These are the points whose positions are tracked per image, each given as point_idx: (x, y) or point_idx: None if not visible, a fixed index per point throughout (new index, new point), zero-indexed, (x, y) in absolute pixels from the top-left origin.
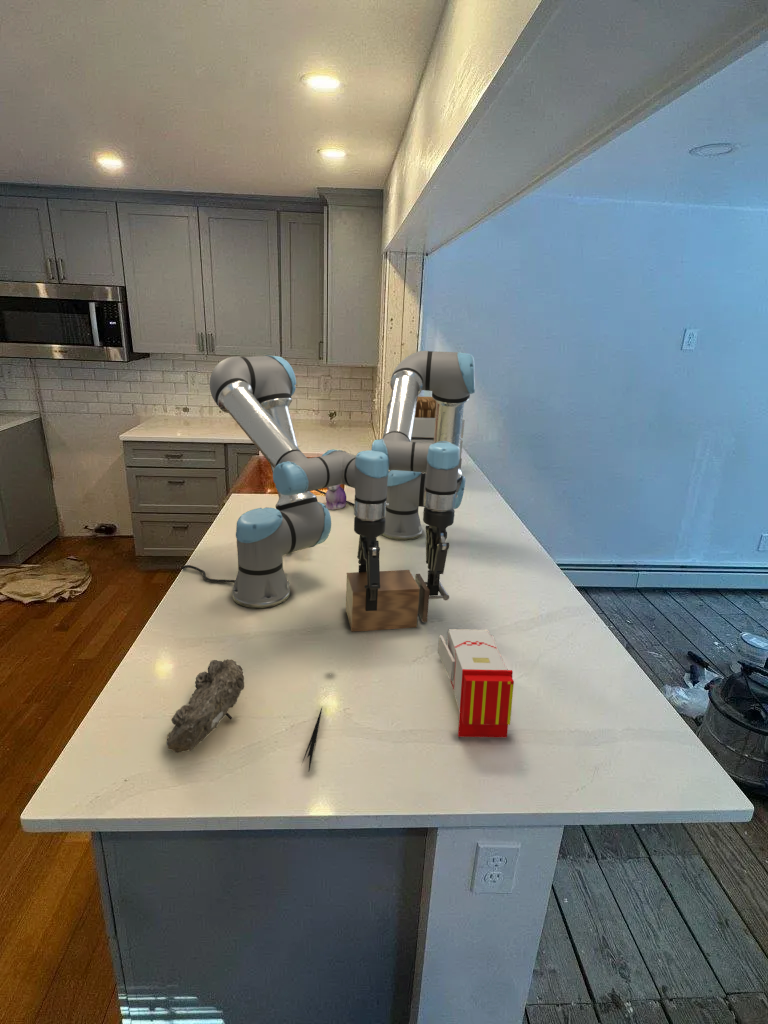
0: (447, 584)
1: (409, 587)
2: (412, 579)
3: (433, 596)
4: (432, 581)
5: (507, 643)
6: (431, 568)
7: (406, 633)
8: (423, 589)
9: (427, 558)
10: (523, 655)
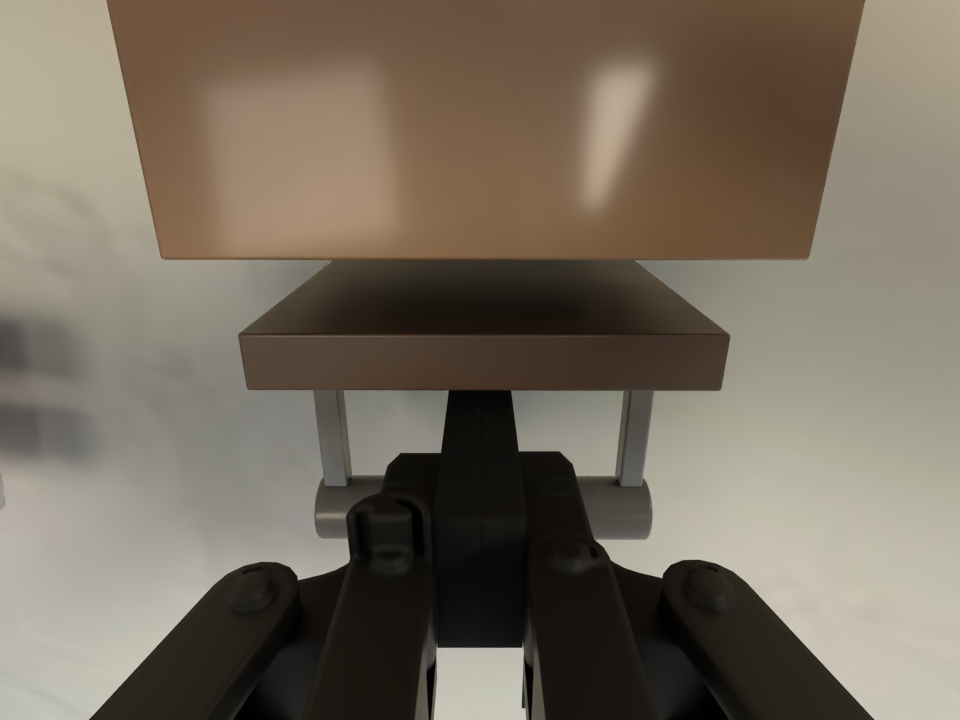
0: (852, 546)
1: (183, 104)
2: (465, 228)
3: (324, 404)
4: (409, 480)
5: (166, 631)
6: (376, 601)
7: None
8: (310, 327)
9: (711, 662)
10: (67, 657)
